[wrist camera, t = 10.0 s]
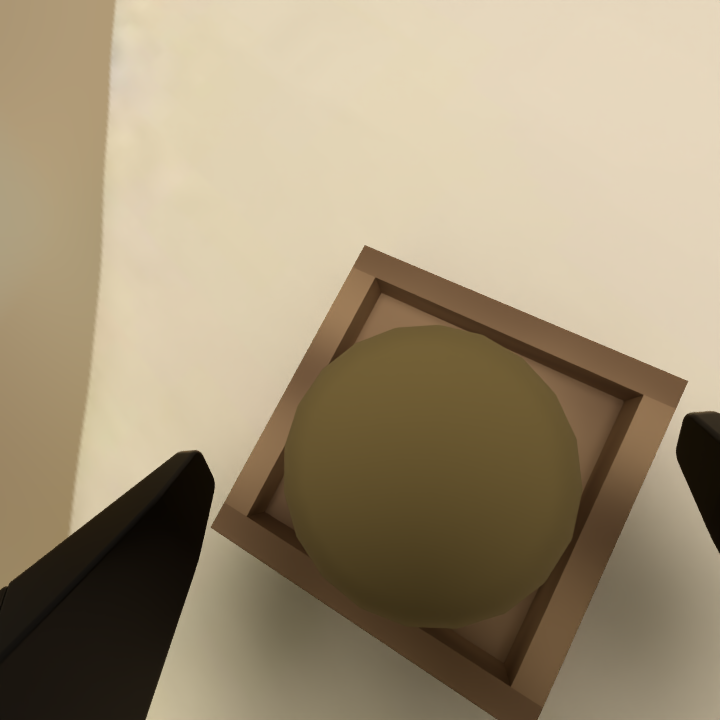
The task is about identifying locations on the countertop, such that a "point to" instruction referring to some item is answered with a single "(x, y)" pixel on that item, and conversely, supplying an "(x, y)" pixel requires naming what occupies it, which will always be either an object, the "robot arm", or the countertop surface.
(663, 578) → the countertop surface
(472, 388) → the cork
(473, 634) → the walnut tray
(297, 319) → the countertop surface
